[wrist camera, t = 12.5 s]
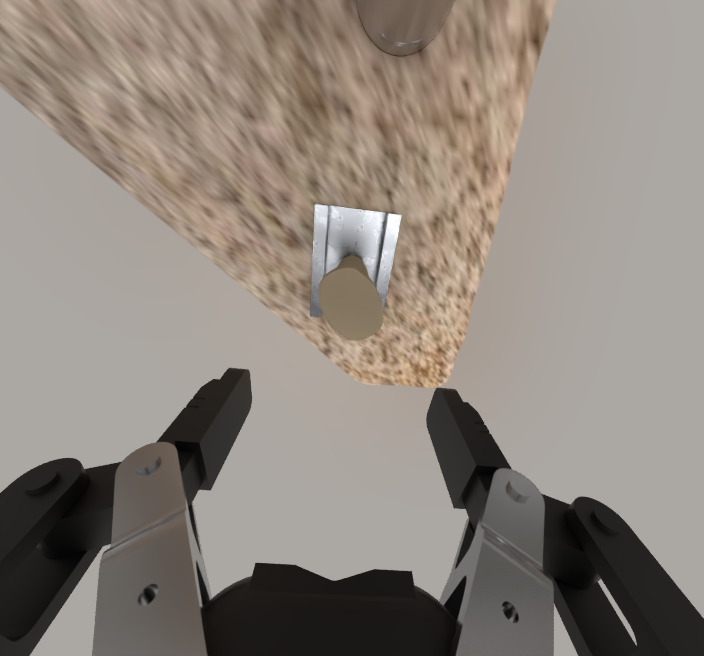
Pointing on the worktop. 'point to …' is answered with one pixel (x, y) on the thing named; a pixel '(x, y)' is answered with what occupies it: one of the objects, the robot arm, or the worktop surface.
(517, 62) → the worktop surface
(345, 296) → the handle
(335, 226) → the floor track
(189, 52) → the worktop surface
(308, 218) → the worktop surface
